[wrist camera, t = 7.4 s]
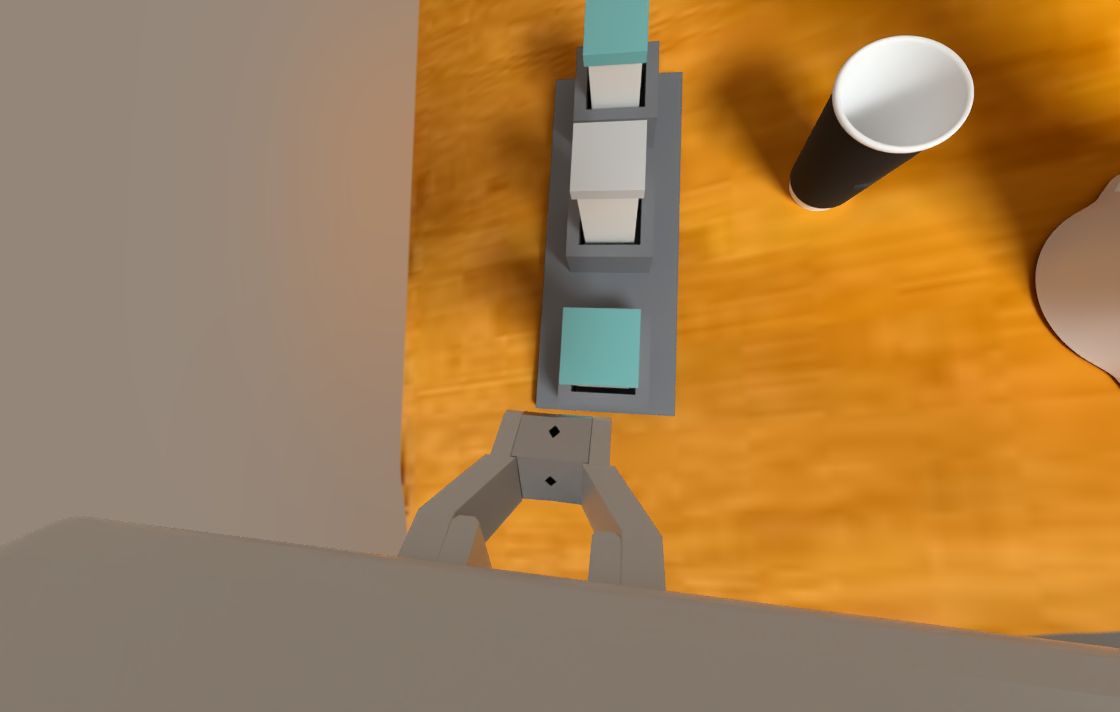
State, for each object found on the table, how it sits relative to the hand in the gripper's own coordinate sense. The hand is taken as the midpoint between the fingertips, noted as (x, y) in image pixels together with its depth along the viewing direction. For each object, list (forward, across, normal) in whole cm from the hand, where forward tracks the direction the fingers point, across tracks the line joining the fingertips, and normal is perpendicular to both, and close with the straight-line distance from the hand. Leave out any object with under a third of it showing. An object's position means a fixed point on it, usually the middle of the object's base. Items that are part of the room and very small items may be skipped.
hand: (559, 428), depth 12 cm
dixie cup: (+33, -19, +2) cm, 38 cm away
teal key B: (+18, -1, +12) cm, 21 cm away
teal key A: (+37, 0, -3) cm, 37 cm away
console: (+29, -1, +6) cm, 30 cm away
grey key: (+26, -1, +3) cm, 27 cm away
